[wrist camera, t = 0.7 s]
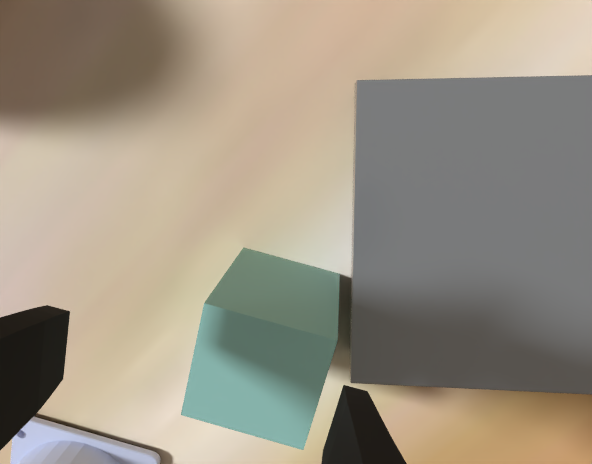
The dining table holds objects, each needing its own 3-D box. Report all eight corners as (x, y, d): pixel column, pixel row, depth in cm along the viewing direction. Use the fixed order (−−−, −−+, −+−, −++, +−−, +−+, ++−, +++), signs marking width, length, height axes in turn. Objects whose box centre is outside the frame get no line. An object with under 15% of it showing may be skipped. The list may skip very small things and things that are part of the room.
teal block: (314, 358, 22) (303, 449, 16) (224, 332, 22) (181, 414, 16) (339, 273, 20) (337, 340, 15) (243, 247, 20) (204, 303, 15)
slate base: (622, 362, 20) (660, 397, 18) (349, 351, 21) (350, 382, 19) (681, 76, 17) (737, 72, 14) (355, 83, 18) (356, 80, 16)
